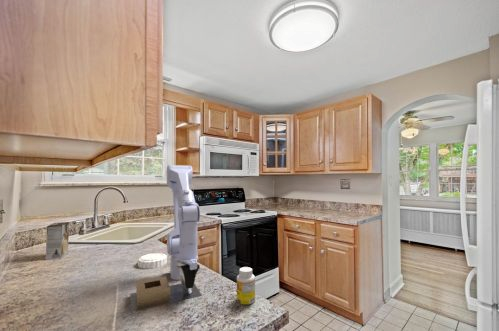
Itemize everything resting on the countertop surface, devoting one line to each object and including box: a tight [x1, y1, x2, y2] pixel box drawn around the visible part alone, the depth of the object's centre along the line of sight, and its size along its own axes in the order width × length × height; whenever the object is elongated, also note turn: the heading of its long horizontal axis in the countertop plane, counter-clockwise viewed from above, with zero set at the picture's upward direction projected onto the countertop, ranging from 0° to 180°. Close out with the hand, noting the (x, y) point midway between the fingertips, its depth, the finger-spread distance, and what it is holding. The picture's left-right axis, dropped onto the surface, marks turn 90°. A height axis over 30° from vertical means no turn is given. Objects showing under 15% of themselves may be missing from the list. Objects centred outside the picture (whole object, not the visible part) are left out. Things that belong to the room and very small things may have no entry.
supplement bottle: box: [236, 266, 256, 306], centre depth 71 cm, size 6×6×10 cm
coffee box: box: [45, 221, 70, 261], centre depth 117 cm, size 9×6×16 cm
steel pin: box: [177, 261, 193, 295], centre depth 76 cm, size 4×4×10 cm
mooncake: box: [137, 252, 168, 270], centre depth 105 cm, size 12×12×4 cm
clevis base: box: [130, 275, 203, 313], centre depth 75 cm, size 12×20×5 cm, turn 117°
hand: (188, 285), depth 76 cm, fingers closed on steel pin, 4 cm apart
